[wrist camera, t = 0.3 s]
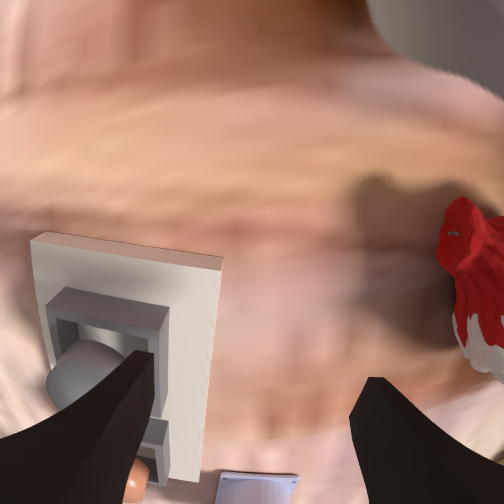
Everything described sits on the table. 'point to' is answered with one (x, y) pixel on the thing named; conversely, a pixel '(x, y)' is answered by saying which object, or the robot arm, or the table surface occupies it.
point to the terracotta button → (136, 482)
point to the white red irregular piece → (476, 282)
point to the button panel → (138, 329)
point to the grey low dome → (80, 370)
